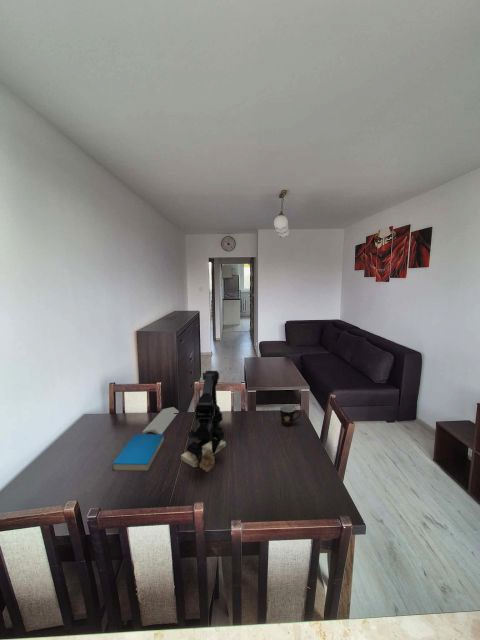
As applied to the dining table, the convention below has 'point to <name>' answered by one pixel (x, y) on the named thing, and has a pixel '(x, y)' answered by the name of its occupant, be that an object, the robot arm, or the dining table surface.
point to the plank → (205, 449)
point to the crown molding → (161, 421)
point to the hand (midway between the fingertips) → (206, 457)
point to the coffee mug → (287, 415)
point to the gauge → (207, 462)
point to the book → (139, 452)
